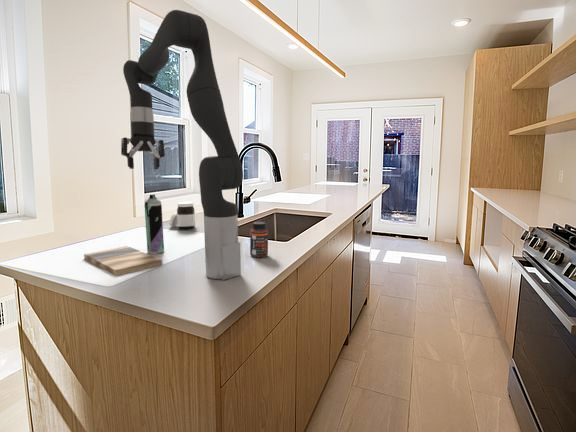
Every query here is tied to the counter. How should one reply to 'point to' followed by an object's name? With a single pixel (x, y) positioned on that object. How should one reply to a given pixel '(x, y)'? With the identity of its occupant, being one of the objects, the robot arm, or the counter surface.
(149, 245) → the spray can
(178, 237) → the counter surface
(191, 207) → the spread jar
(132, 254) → the plywood panel
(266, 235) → the supplement bottle
